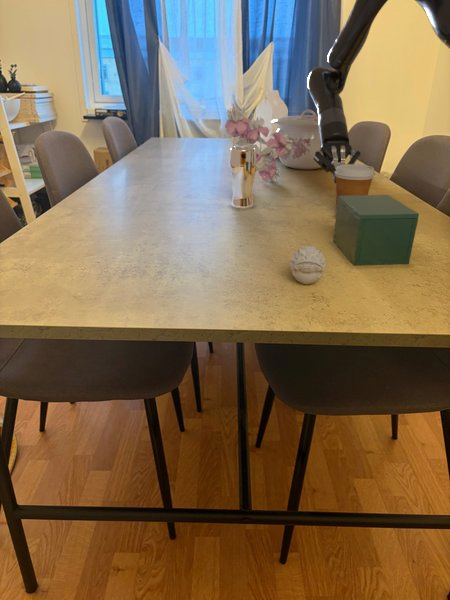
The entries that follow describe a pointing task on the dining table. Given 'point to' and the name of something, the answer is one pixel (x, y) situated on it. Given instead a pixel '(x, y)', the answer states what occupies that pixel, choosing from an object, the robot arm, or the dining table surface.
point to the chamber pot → (300, 140)
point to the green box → (374, 238)
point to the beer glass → (242, 175)
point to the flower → (251, 133)
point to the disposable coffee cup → (353, 180)
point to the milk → (270, 114)
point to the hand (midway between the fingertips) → (340, 184)
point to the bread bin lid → (377, 207)
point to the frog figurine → (307, 265)
